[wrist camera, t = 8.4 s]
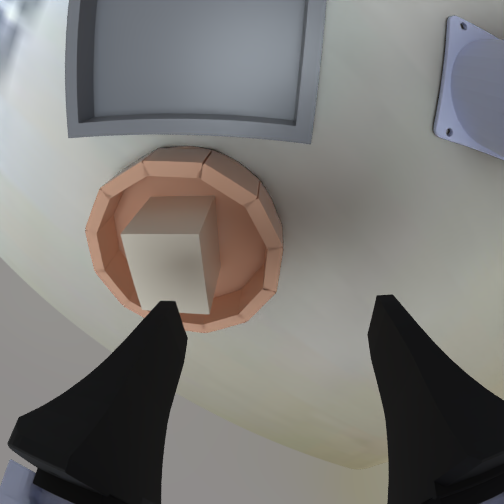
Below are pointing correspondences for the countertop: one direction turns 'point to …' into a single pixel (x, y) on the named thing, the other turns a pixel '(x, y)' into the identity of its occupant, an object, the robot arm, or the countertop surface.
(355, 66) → the countertop surface
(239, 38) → the parts tray
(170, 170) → the bowl
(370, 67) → the countertop surface
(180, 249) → the stone block
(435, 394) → the robot arm
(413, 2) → the countertop surface
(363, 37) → the countertop surface
